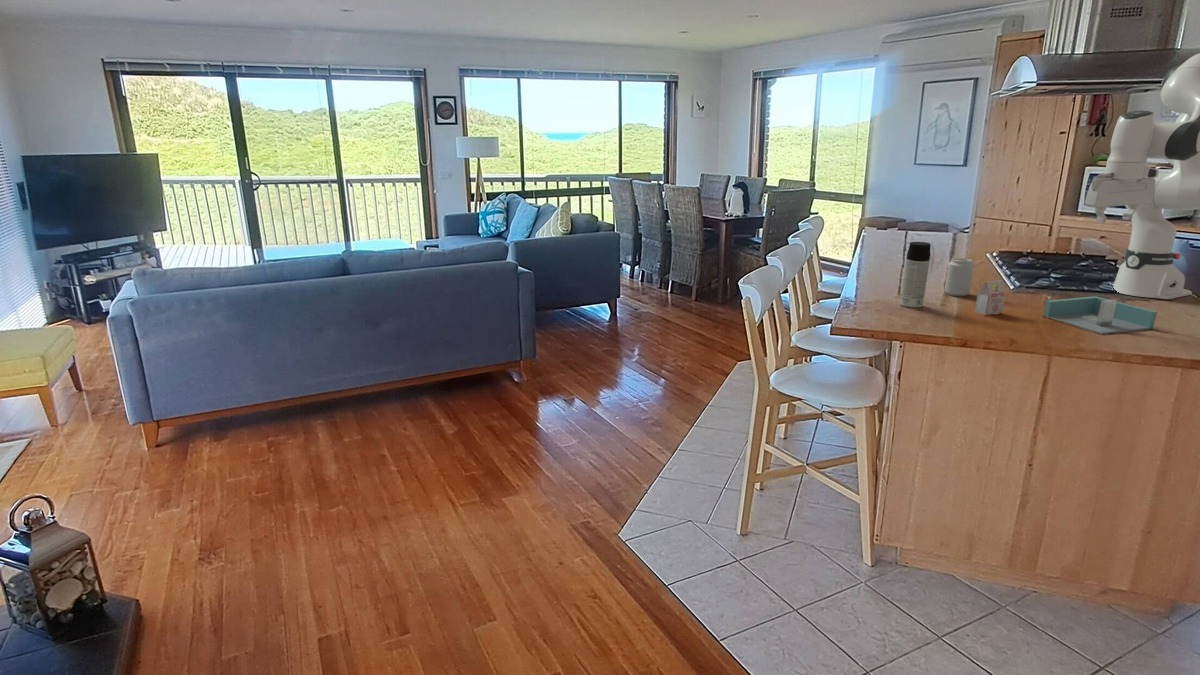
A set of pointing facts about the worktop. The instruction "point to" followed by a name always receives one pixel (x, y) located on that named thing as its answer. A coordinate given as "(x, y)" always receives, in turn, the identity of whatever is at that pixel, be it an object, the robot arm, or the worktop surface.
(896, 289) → the worktop surface
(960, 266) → the can
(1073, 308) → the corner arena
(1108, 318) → the bracket
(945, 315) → the worktop surface
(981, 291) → the milk carton
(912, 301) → the spray can
